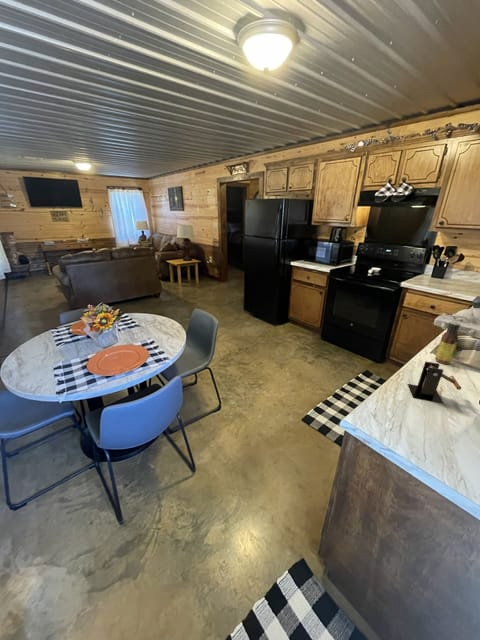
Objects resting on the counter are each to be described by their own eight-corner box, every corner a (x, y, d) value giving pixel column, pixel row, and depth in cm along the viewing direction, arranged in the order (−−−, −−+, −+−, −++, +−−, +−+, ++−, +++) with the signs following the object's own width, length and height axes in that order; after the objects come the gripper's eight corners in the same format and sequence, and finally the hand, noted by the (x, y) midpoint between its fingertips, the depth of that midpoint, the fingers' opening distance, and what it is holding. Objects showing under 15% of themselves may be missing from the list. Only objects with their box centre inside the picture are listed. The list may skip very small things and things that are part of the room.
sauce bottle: (452, 365, 123) (466, 327, 115) (436, 363, 125) (450, 325, 117) (447, 358, 128) (460, 321, 121) (432, 356, 130) (444, 319, 122)
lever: (450, 380, 101) (455, 376, 100) (458, 391, 95) (463, 387, 94) (424, 365, 102) (428, 361, 101) (429, 375, 96) (434, 371, 95)
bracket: (434, 391, 106) (445, 362, 100) (442, 406, 98) (454, 375, 92) (406, 386, 109) (415, 357, 103) (412, 400, 101) (422, 370, 95)
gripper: (484, 334, 131) (480, 343, 123) (436, 322, 145) (429, 330, 136) (489, 323, 129) (485, 331, 120) (439, 312, 142) (433, 319, 134)
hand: (455, 330), depth 128 cm, fingers open, 8 cm apart
